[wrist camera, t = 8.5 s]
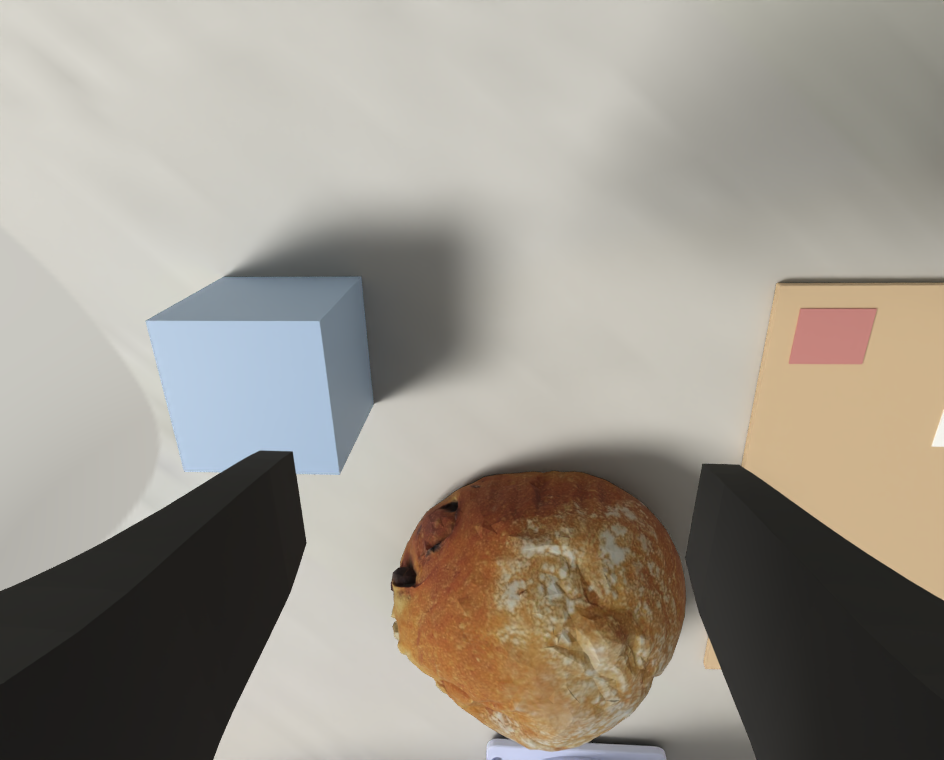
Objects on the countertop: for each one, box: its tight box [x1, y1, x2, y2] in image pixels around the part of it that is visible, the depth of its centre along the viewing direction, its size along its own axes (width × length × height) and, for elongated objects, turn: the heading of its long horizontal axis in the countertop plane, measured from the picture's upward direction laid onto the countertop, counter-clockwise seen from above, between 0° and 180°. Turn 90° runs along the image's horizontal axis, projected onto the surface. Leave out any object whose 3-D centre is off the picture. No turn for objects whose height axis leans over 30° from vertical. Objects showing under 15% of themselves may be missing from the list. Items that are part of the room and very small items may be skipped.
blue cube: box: [146, 277, 374, 475], centre depth 18 cm, size 4×4×4 cm
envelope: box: [703, 283, 944, 669], centre depth 21 cm, size 16×10×1 cm, turn 1°
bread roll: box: [391, 471, 686, 752], centre depth 21 cm, size 10×10×8 cm
